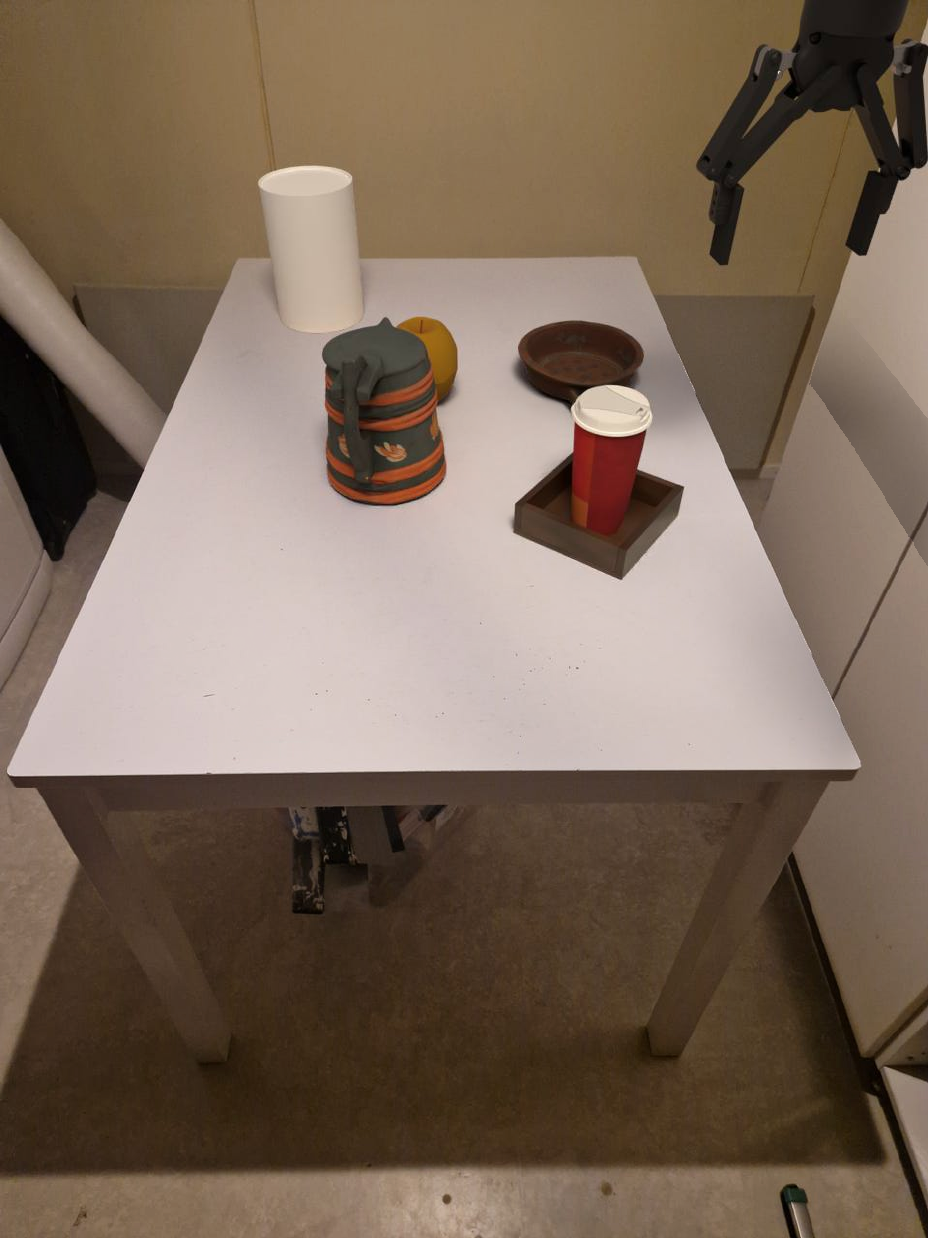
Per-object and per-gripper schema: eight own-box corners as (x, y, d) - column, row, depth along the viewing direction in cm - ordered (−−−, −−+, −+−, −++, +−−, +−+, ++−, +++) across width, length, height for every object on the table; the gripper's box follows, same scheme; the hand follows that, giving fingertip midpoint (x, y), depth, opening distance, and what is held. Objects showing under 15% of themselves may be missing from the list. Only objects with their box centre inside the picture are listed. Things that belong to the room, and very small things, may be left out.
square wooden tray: (678, 515, 96) (684, 486, 93) (621, 580, 88) (626, 550, 85) (575, 475, 102) (578, 446, 99) (513, 532, 94) (514, 503, 91)
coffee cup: (645, 512, 95) (667, 395, 85) (614, 551, 90) (634, 432, 80) (579, 490, 98) (593, 374, 88) (547, 526, 93) (557, 408, 83)
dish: (520, 421, 110) (522, 387, 107) (513, 344, 126) (514, 312, 122) (650, 421, 110) (657, 387, 107) (627, 344, 126) (632, 312, 122)
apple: (391, 422, 110) (384, 339, 102) (385, 386, 117) (378, 305, 109) (463, 416, 111) (462, 333, 103) (453, 380, 118) (452, 300, 110)
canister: (296, 293, 139) (277, 163, 125) (374, 299, 137) (363, 168, 123) (267, 328, 130) (243, 192, 116) (350, 336, 128) (335, 198, 114)
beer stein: (434, 535, 93) (429, 372, 79) (307, 527, 94) (279, 365, 80) (452, 442, 107) (449, 289, 93) (340, 437, 108) (321, 284, 94)
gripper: (986, -44, 66) (890, 231, 81) (689, -36, 63) (646, 247, 78) (1047, -30, 61) (933, 261, 76) (726, -21, 58) (673, 280, 73)
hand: (787, 255), depth 77 cm, fingers open, 13 cm apart
